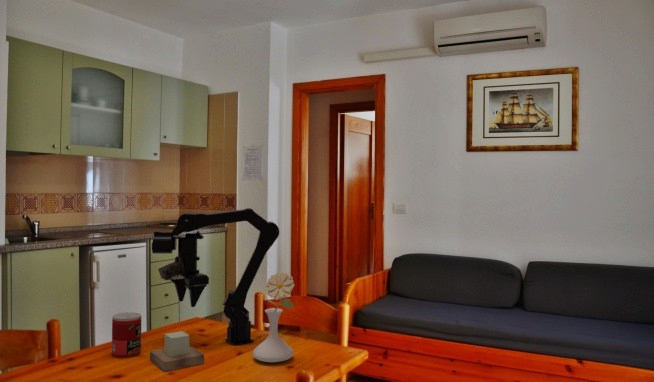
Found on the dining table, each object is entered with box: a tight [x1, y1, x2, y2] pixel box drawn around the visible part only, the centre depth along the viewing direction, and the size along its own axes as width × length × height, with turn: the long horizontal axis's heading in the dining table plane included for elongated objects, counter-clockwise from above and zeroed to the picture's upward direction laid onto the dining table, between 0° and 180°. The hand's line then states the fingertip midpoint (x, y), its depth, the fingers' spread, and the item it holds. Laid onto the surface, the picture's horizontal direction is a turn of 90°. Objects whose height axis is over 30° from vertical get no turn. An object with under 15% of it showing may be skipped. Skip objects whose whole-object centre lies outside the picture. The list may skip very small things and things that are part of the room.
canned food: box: [111, 311, 142, 359], centre depth 147 cm, size 8×8×11 cm
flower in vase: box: [252, 271, 295, 363], centre depth 144 cm, size 13×11×25 cm
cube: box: [164, 330, 190, 357], centre depth 141 cm, size 5×5×5 cm
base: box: [149, 344, 205, 373], centre depth 141 cm, size 11×11×2 cm
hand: (186, 304), depth 158 cm, fingers open, 9 cm apart
